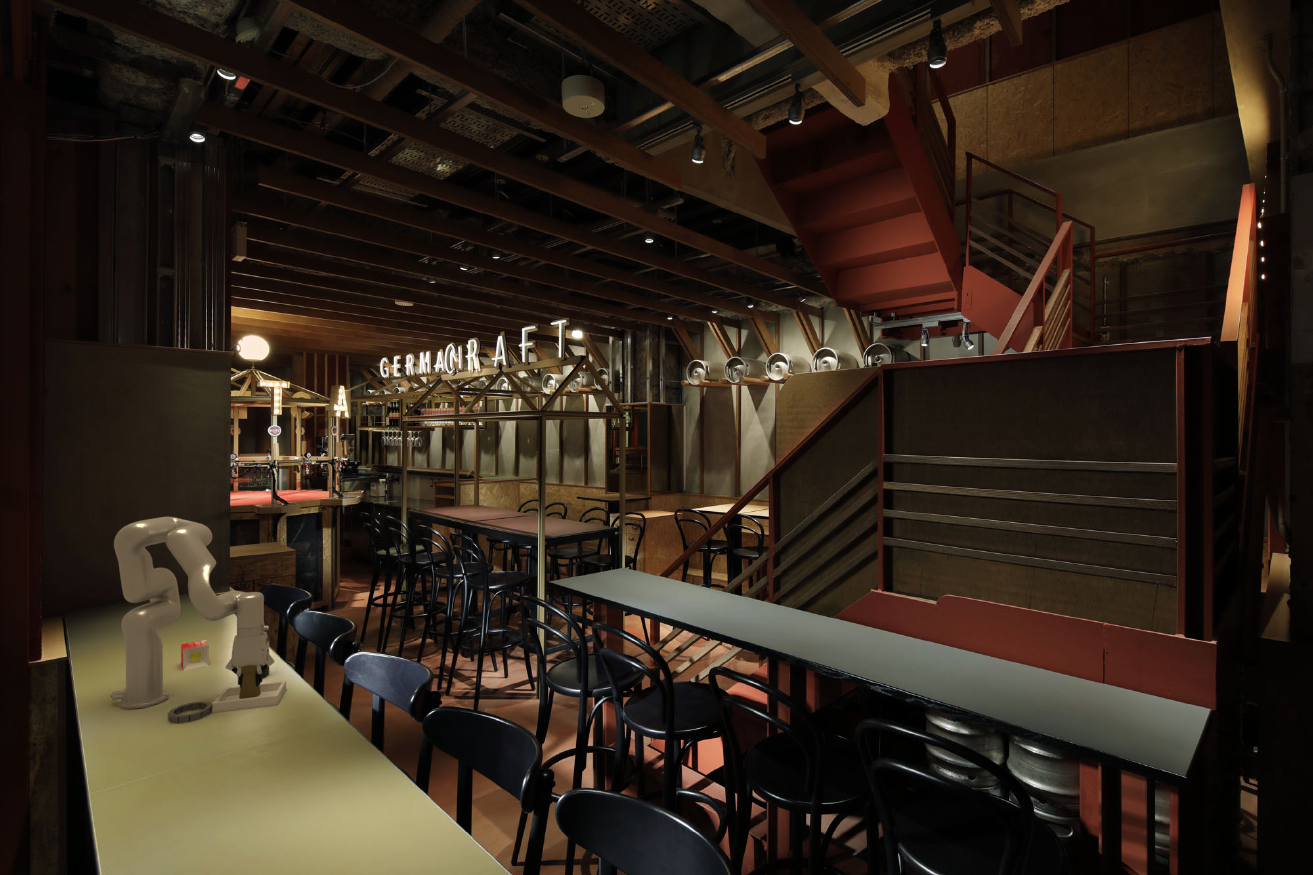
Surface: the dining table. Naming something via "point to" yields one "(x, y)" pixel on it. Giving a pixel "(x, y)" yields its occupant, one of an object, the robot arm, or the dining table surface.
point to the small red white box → (194, 655)
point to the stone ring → (176, 718)
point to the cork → (249, 682)
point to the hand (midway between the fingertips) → (250, 685)
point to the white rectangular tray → (231, 699)
